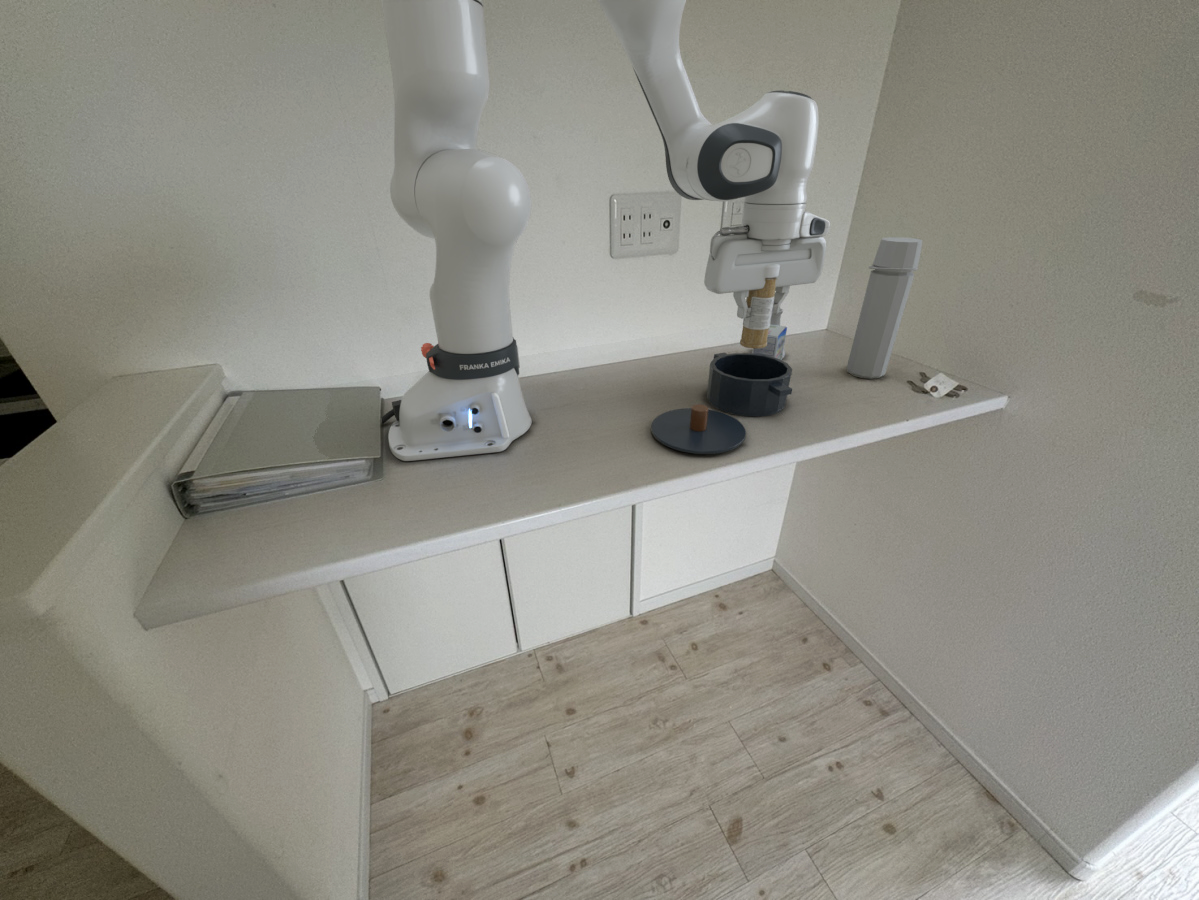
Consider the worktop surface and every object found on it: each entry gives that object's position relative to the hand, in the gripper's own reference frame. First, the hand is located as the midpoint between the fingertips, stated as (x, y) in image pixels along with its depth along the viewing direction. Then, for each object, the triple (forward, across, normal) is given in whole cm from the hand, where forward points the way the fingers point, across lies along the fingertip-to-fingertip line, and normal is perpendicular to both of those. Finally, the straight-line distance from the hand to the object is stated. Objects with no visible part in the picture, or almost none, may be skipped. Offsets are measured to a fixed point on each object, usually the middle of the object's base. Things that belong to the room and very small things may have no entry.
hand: (758, 315), depth 82 cm
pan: (+15, 0, 0) cm, 15 cm away
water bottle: (+15, +30, +2) cm, 34 cm away
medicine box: (+15, +12, +10) cm, 22 cm away
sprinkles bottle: (+5, 0, 0) cm, 5 cm away
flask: (+15, +19, +18) cm, 30 cm away
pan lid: (+15, -15, -8) cm, 22 cm away
